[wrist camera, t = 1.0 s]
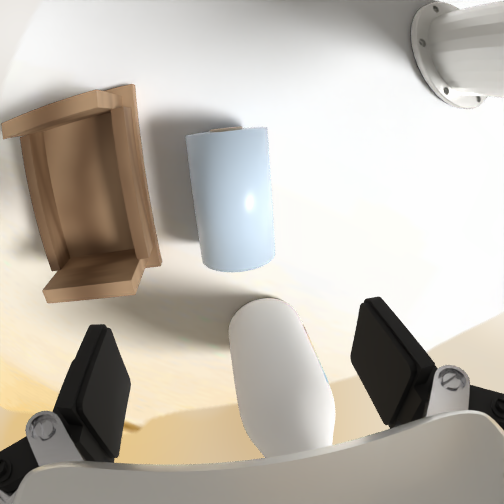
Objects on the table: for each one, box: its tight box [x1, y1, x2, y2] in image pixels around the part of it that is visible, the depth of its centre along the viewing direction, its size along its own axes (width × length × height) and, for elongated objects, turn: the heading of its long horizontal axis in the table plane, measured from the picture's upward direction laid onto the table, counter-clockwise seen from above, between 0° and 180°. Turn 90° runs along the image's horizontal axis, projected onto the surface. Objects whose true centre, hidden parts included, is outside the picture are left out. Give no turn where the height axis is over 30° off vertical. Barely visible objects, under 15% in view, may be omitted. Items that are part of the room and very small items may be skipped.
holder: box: [1, 84, 162, 303], centre depth 21 cm, size 10×16×7 cm, turn 4°
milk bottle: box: [229, 298, 335, 458], centre depth 24 cm, size 8×8×20 cm
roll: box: [185, 127, 275, 272], centre depth 24 cm, size 10×6×6 cm, turn 4°
